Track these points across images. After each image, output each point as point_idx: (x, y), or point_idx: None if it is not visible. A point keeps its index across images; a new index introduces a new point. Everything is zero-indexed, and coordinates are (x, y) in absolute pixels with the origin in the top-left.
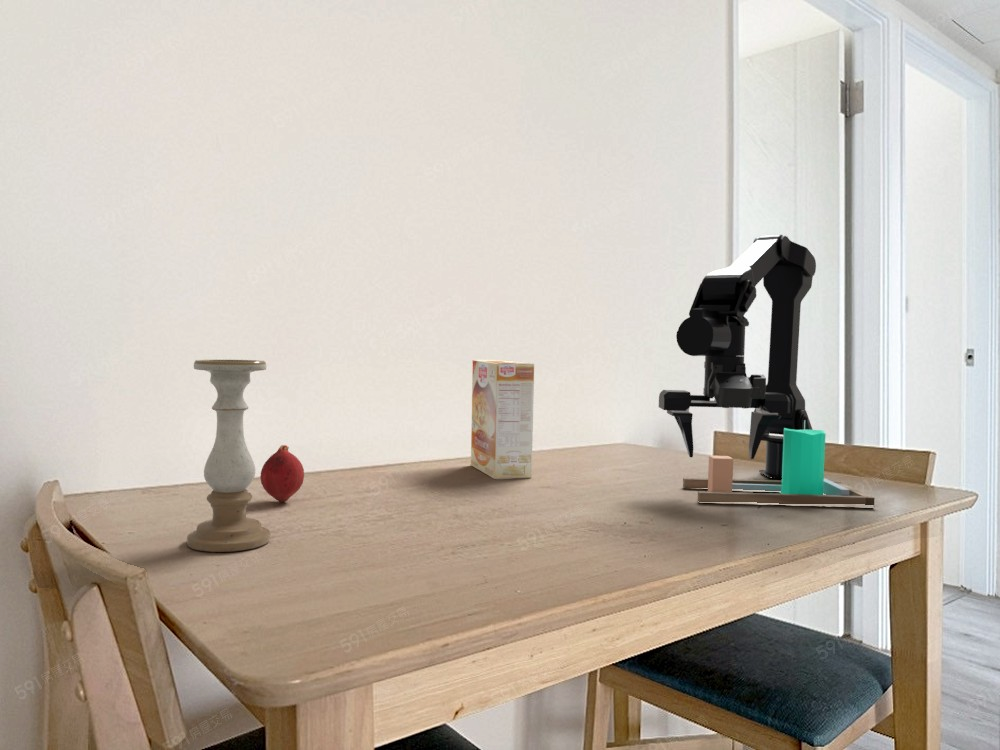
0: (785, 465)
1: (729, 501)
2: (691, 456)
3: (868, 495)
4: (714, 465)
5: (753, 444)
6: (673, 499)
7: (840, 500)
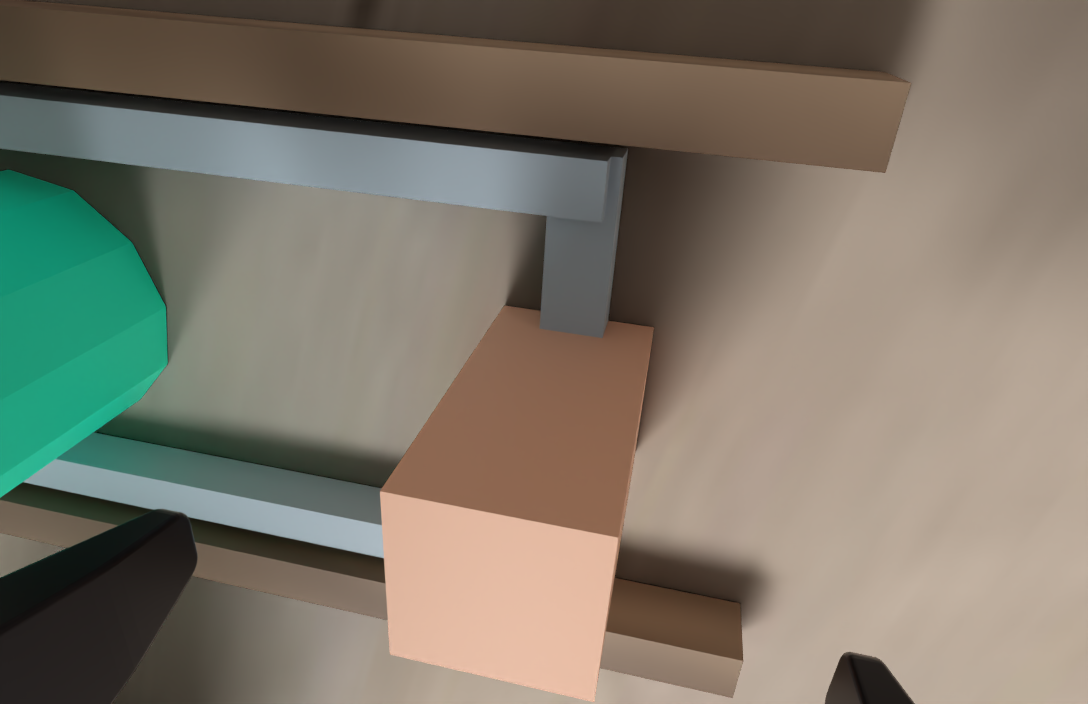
0: None
1: (602, 51)
2: (865, 657)
3: None
4: (610, 480)
5: (30, 608)
6: (1039, 270)
7: None
